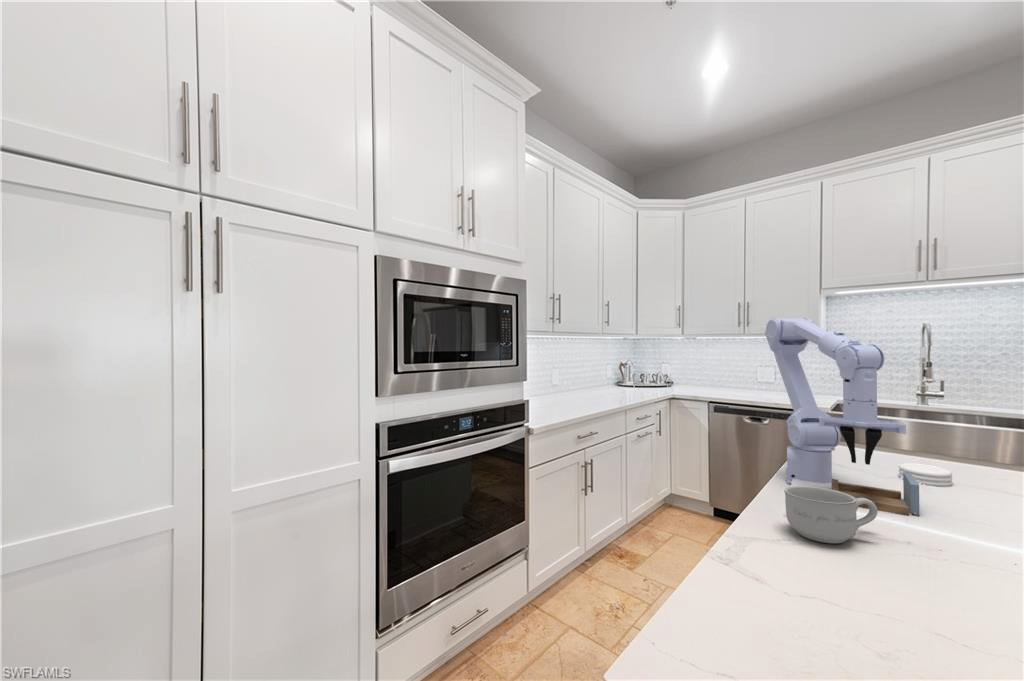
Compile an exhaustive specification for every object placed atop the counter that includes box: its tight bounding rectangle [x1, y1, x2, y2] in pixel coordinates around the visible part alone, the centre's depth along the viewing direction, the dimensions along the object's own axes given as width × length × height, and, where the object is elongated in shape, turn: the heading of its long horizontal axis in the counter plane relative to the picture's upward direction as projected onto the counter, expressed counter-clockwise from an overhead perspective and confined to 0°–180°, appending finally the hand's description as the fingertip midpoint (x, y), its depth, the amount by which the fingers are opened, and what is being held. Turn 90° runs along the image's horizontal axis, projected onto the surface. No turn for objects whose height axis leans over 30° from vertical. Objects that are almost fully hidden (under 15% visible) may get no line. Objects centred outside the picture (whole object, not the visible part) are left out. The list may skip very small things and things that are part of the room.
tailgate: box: [902, 472, 920, 517], centre depth 87 cm, size 1×11×6 cm, turn 143°
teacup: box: [784, 485, 878, 544], centre depth 77 cm, size 14×11×8 cm
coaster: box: [898, 462, 953, 488], centre depth 110 cm, size 10×10×4 cm
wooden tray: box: [831, 478, 910, 517], centre depth 91 cm, size 12×12×4 cm
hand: (860, 462), depth 92 cm, fingers closed
